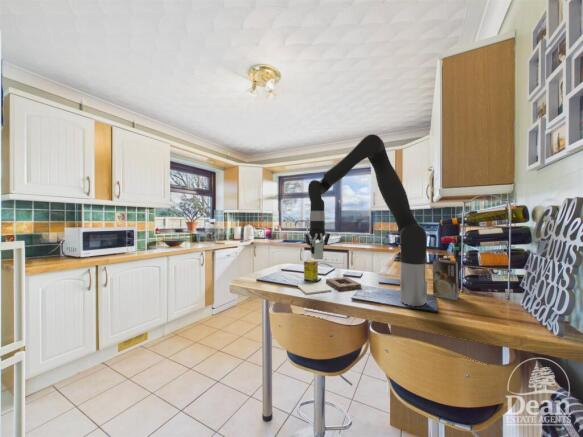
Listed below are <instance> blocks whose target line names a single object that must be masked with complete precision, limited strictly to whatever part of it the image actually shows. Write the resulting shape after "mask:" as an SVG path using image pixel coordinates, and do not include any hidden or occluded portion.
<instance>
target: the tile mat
mask: <svg viewBox="0 0 583 437" xmlns="http://www.w3.org/2000/svg"><path fill="white" fill-rule="evenodd" d="M297 286H298V287H297ZM296 287H297V288H298V289H299V290H301V291H302V292H303V293H304V294H305V295H313V294H320V293H321V294H323V293H330V292H332V290H331V288H330V287H328V286H326V285H324V284H323V283H322V282H320V281H319V282H311V283H304V284H303V283H301V284H297V285H296Z"/></svg>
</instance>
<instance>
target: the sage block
mask: <svg viewBox="0 0 583 437" xmlns="http://www.w3.org/2000/svg"><path fill="white" fill-rule="evenodd" d="M310 257H311V258H312V259H314V260H324V252H323V243H321V242H319V241H316V242H315V243H314V254H312V253H311V252H310Z"/></svg>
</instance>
